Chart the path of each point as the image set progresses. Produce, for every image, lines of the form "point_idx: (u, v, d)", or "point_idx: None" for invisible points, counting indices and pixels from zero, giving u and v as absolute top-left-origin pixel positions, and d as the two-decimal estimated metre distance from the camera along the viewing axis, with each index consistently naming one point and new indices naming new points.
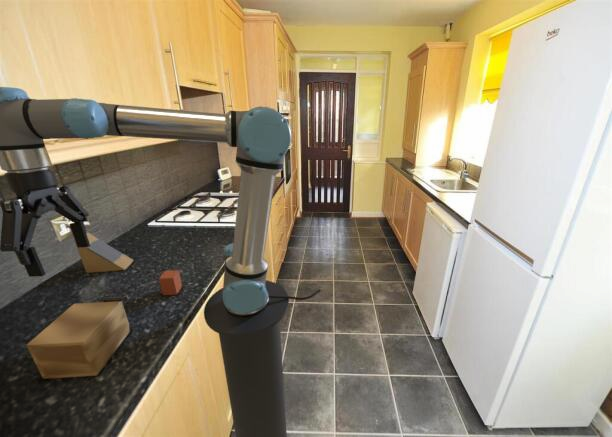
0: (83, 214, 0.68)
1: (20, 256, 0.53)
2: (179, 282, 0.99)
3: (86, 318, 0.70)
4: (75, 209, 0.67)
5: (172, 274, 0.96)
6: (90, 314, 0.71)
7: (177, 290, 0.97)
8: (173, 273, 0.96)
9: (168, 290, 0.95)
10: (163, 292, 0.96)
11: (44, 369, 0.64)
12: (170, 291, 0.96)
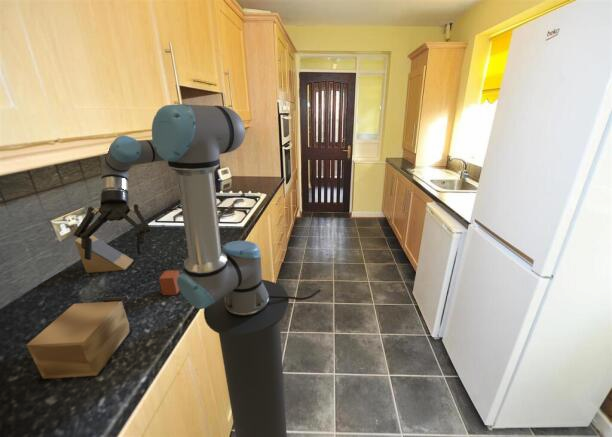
0: None
1: None
2: None
3: (86, 318, 0.70)
4: (142, 223, 0.89)
5: (172, 274, 0.96)
6: (90, 314, 0.71)
7: (177, 290, 0.97)
8: (173, 273, 0.96)
9: (168, 290, 0.95)
10: (163, 292, 0.96)
11: (44, 369, 0.64)
12: (170, 291, 0.96)
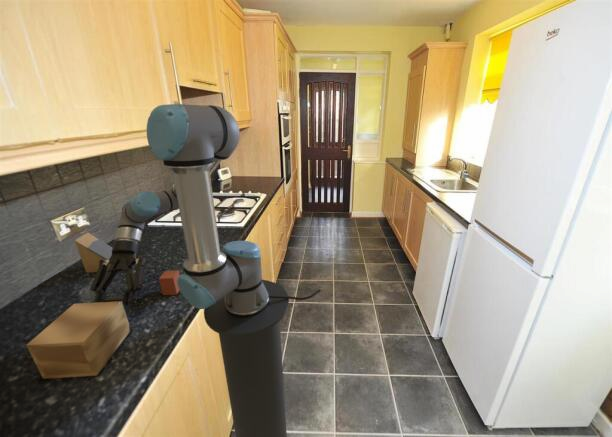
0: (134, 285, 0.84)
1: None
2: None
3: (86, 318, 0.70)
4: None
5: (172, 274, 0.96)
6: (90, 314, 0.71)
7: (177, 290, 0.97)
8: (173, 273, 0.96)
9: (168, 290, 0.95)
10: (163, 292, 0.96)
11: (44, 369, 0.64)
12: (170, 291, 0.96)
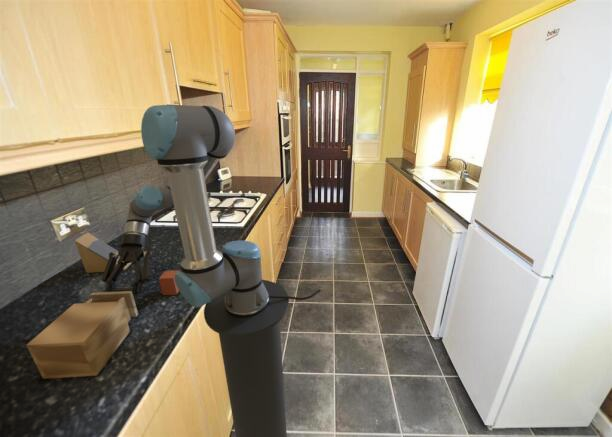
0: (143, 276, 0.88)
1: None
2: None
3: (86, 318, 0.70)
4: None
5: (172, 274, 0.96)
6: (90, 314, 0.71)
7: (177, 290, 0.97)
8: (173, 273, 0.96)
9: (168, 290, 0.95)
10: (163, 292, 0.96)
11: (44, 369, 0.64)
12: (170, 291, 0.96)
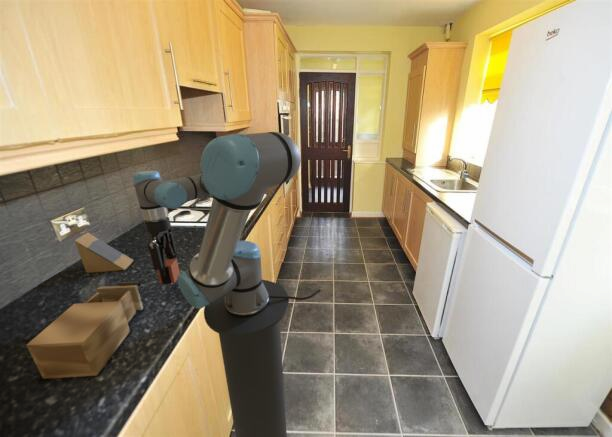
0: (174, 251, 0.98)
1: (161, 272, 0.90)
2: (177, 270, 0.97)
3: (86, 318, 0.70)
4: (170, 246, 0.97)
5: (169, 262, 0.94)
6: (90, 314, 0.71)
7: (175, 279, 0.95)
8: (171, 261, 0.95)
9: None
10: (160, 281, 0.94)
11: (44, 369, 0.64)
12: None
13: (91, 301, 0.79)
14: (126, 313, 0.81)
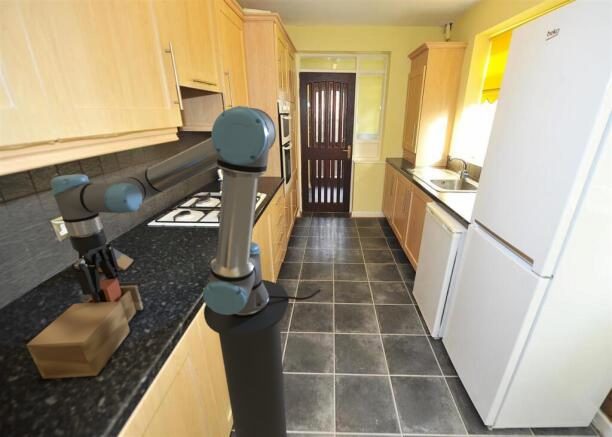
0: (115, 269, 0.82)
1: (94, 297, 0.75)
2: (119, 292, 0.81)
3: (86, 318, 0.70)
4: (111, 264, 0.82)
5: (107, 284, 0.78)
6: (90, 314, 0.71)
7: None
8: (109, 282, 0.79)
9: None
10: None
11: (44, 369, 0.64)
12: None
13: (91, 301, 0.79)
14: (126, 313, 0.81)
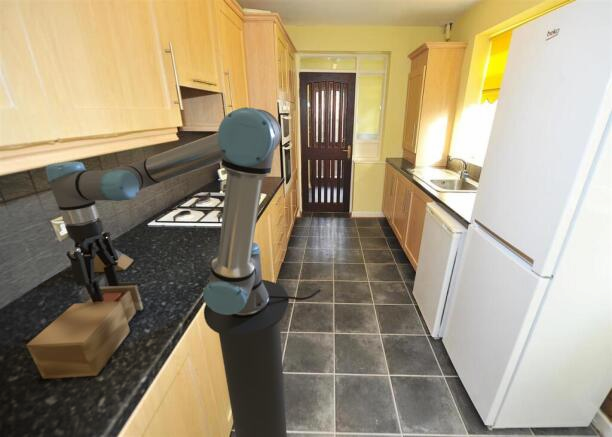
0: (114, 258, 0.82)
1: (88, 288, 0.73)
2: None
3: (86, 318, 0.70)
4: (109, 253, 0.81)
5: (112, 297, 0.80)
6: (90, 314, 0.71)
7: None
8: (114, 296, 0.81)
9: None
10: None
11: (44, 369, 0.64)
12: None
13: (91, 301, 0.79)
14: (126, 313, 0.81)
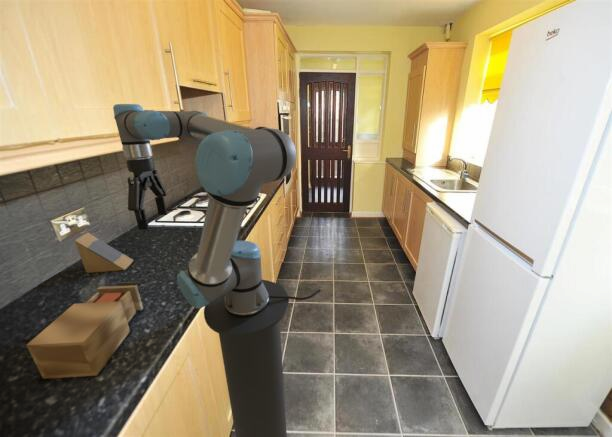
0: (163, 191, 0.96)
1: (137, 214, 0.81)
2: None
3: (86, 318, 0.70)
4: (159, 187, 0.95)
5: (112, 297, 0.80)
6: (90, 314, 0.71)
7: None
8: (114, 296, 0.81)
9: None
10: None
11: (44, 369, 0.64)
12: None
13: (91, 301, 0.79)
14: (126, 313, 0.81)
